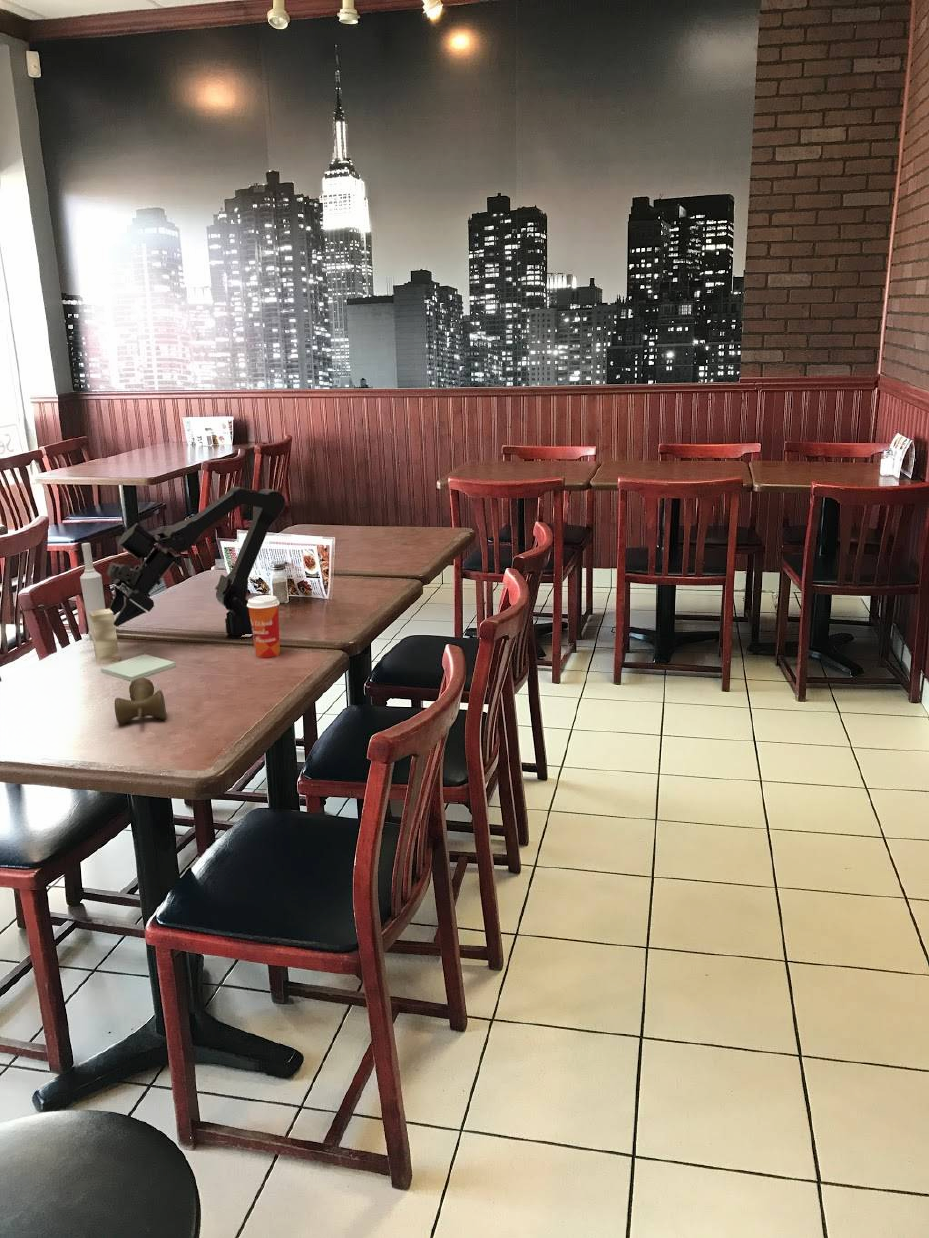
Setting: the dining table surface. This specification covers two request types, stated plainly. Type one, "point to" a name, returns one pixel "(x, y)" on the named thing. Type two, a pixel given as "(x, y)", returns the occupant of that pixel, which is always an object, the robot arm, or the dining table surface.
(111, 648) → the birch block
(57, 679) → the dining table surface
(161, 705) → the kendama
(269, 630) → the paper cup
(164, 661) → the sage pad
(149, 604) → the robot arm
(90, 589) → the bottle
